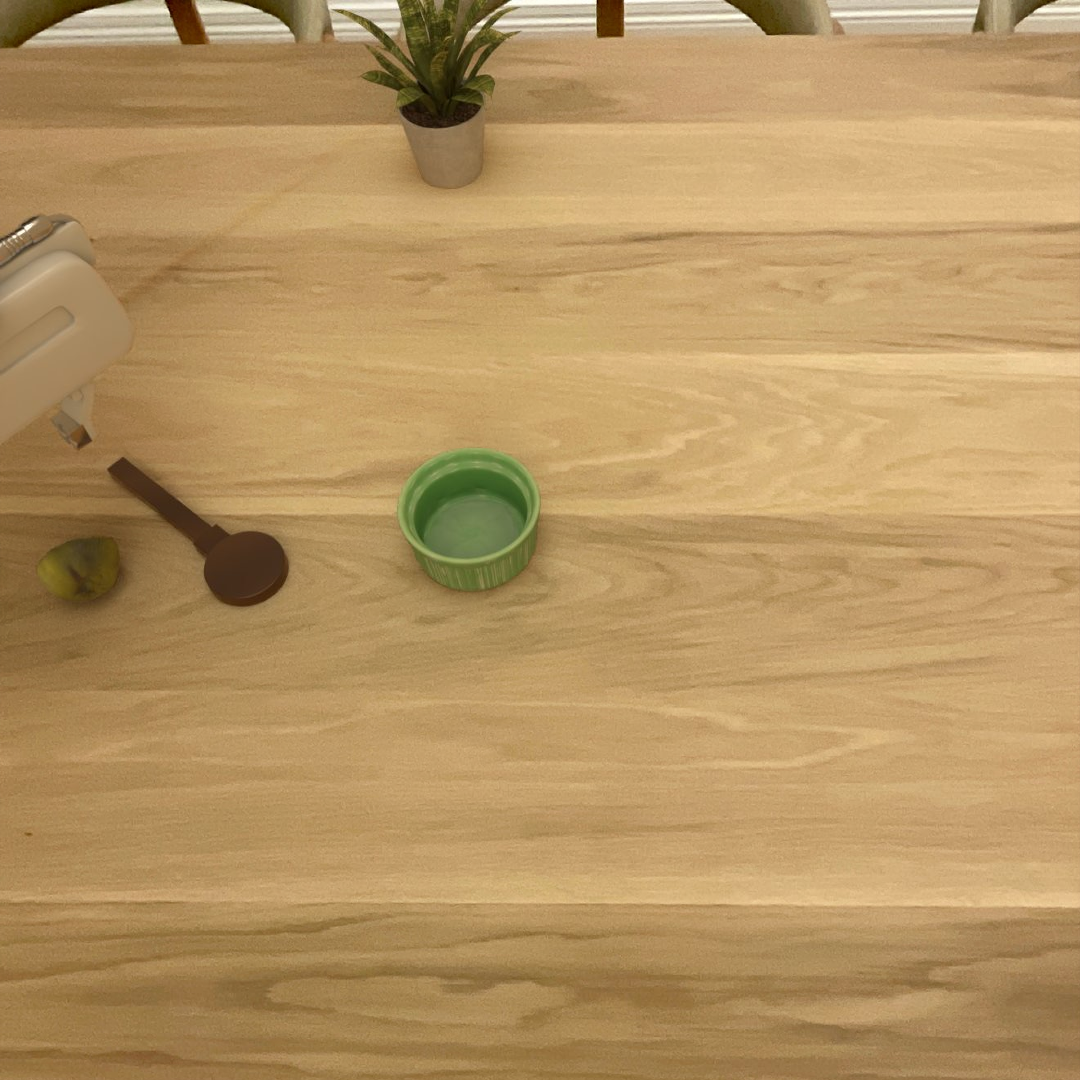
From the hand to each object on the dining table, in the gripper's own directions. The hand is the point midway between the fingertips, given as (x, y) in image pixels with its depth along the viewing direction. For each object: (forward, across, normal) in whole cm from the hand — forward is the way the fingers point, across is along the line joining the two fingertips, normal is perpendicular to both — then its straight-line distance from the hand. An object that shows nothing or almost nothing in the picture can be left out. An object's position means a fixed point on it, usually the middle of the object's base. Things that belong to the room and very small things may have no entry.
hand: (14, 488), depth 66 cm
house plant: (+11, -45, -9) cm, 47 cm away
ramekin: (+10, -18, +17) cm, 27 cm away
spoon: (+10, -7, +2) cm, 13 cm away
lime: (+11, 0, 0) cm, 11 cm away
